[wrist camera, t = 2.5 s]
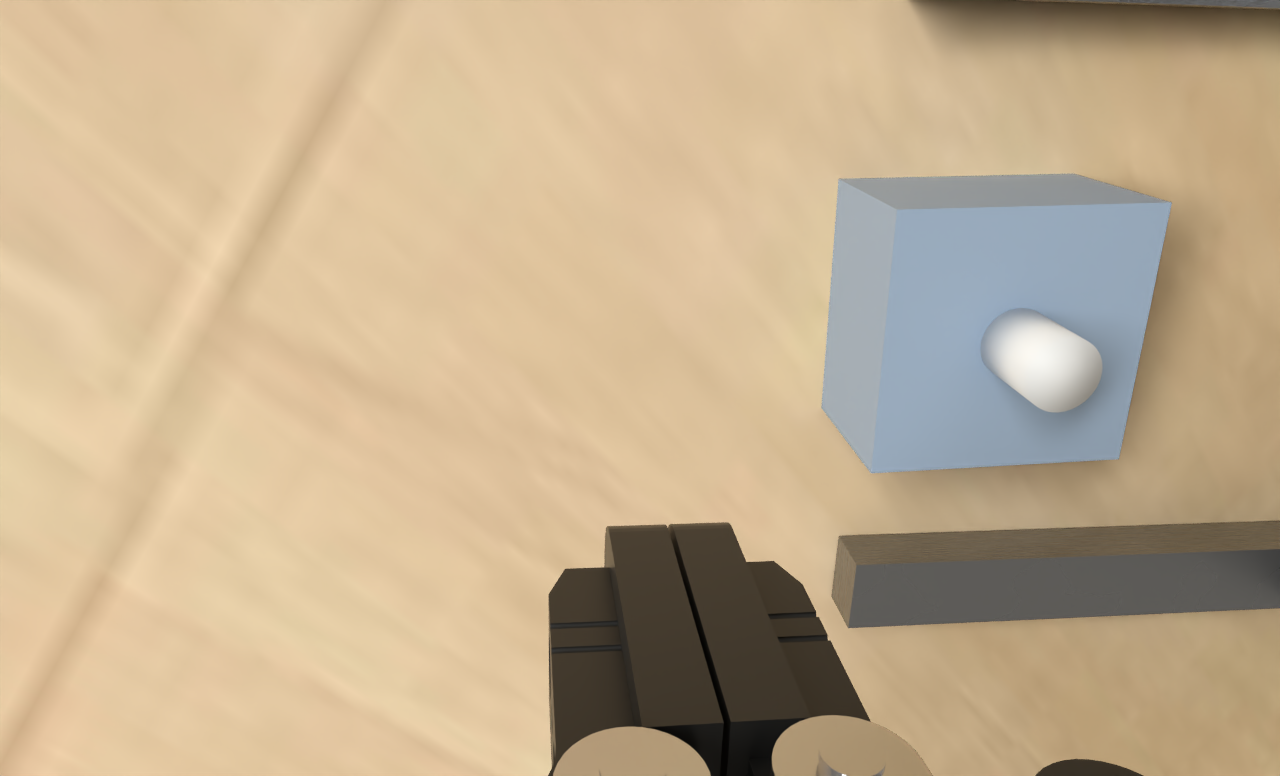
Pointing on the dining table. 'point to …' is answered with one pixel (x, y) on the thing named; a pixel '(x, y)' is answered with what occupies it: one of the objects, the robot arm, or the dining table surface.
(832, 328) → the housing block
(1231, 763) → the dining table surface
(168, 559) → the dining table surface
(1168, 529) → the press frame
